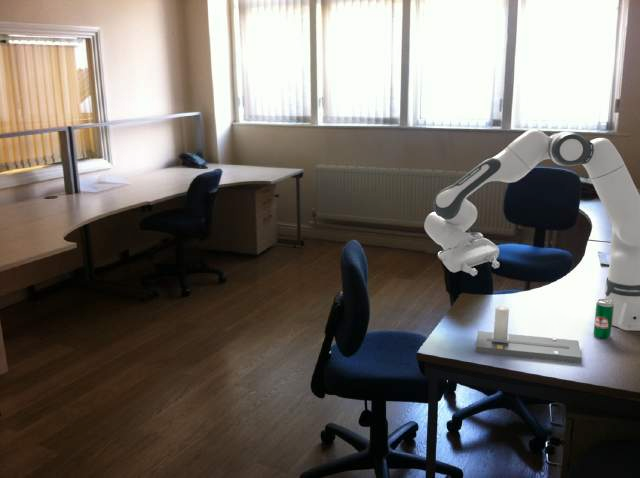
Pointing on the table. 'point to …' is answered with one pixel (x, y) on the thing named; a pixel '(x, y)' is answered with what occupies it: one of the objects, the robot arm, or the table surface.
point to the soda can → (603, 318)
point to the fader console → (531, 347)
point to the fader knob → (501, 325)
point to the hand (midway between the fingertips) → (486, 270)
